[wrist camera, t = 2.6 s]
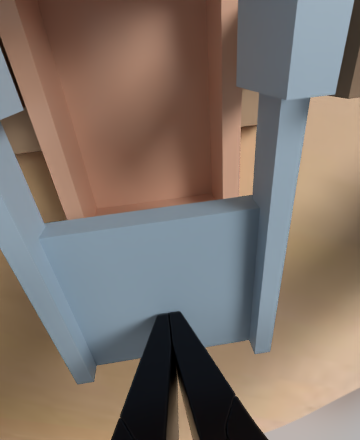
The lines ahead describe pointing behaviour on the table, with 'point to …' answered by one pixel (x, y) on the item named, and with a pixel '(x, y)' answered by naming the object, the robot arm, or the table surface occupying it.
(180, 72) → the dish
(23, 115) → the stand
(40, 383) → the table surface
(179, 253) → the lever
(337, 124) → the table surface
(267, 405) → the table surface
